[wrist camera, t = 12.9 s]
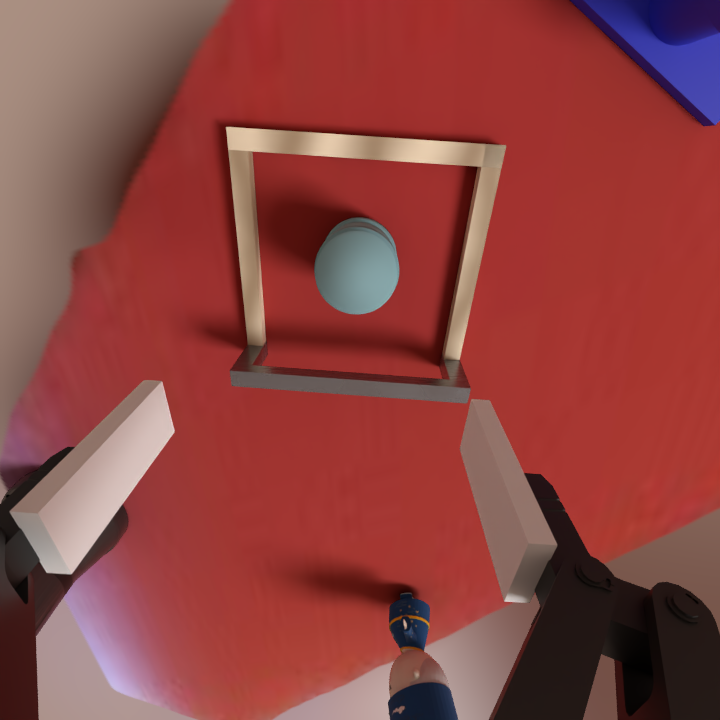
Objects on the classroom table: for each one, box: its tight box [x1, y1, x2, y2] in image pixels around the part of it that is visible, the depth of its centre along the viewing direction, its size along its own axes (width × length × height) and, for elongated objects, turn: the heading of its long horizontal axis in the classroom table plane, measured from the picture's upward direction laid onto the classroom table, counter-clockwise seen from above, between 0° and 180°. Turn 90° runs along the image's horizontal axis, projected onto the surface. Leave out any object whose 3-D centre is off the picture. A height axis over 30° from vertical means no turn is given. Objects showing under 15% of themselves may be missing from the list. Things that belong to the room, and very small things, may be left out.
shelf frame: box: [226, 127, 506, 360], centre depth 33 cm, size 21×20×1 cm
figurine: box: [388, 593, 458, 720], centre depth 50 cm, size 13×9×20 cm
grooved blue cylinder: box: [314, 217, 399, 314], centre depth 30 cm, size 6×6×7 cm
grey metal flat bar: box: [230, 341, 471, 403], centre depth 35 cm, size 21×2×6 cm, turn 87°
